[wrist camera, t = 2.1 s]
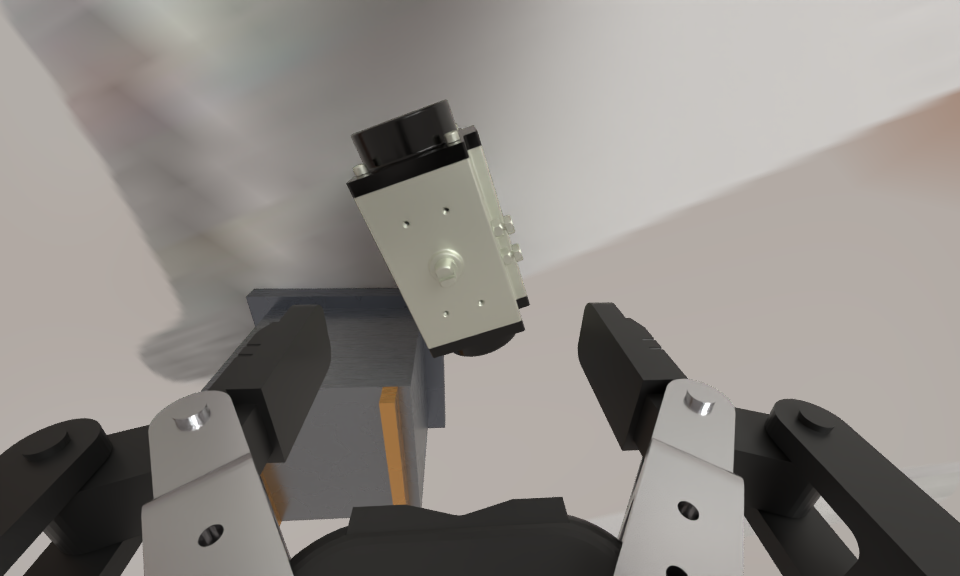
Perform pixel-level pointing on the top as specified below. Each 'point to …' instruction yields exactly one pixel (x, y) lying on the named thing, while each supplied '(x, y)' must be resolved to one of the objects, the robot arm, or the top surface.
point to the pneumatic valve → (441, 230)
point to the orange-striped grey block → (356, 406)
